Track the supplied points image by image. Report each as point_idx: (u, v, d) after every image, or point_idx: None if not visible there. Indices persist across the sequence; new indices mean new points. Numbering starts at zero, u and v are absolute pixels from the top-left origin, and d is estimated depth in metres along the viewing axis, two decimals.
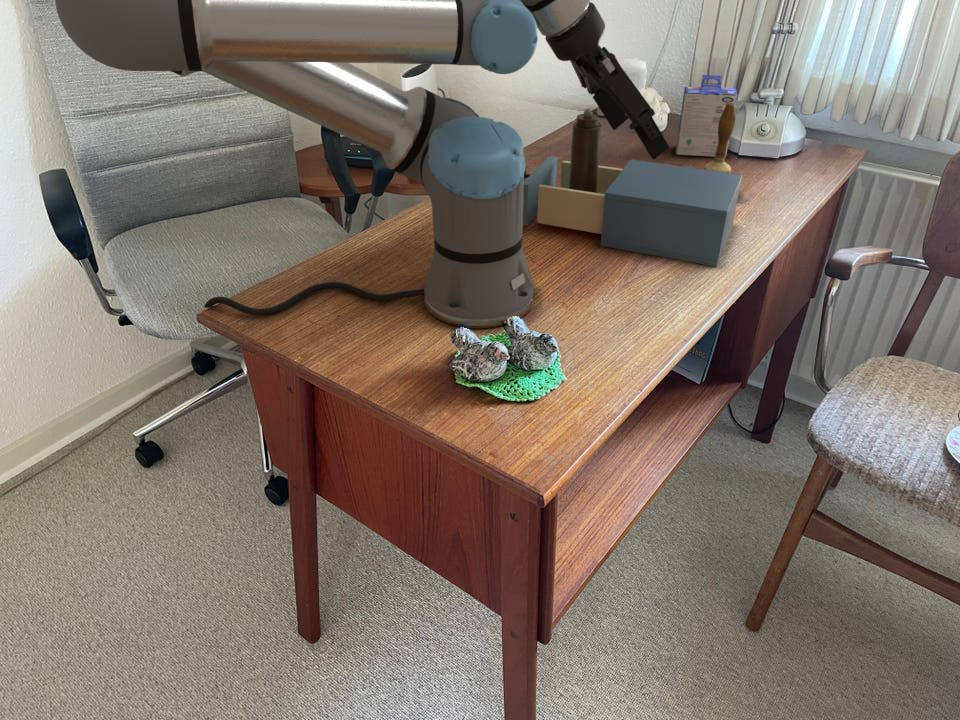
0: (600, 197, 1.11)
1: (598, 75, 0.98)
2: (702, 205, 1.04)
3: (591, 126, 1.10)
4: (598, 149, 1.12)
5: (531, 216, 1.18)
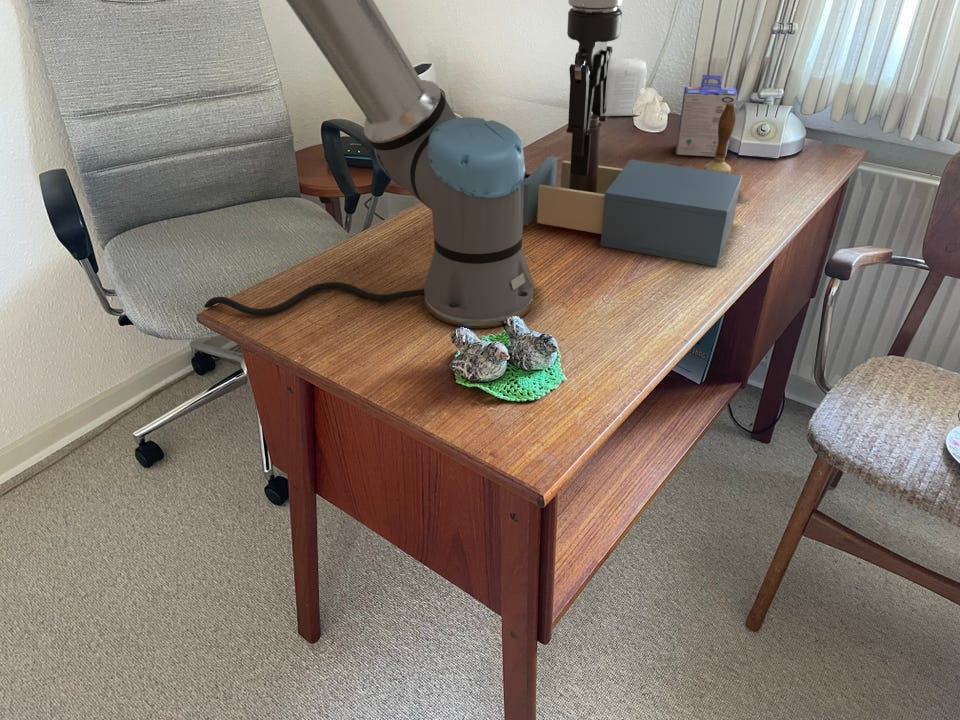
0: (600, 197, 1.11)
1: None
2: (702, 205, 1.04)
3: (591, 126, 1.10)
4: (598, 149, 1.12)
5: (531, 216, 1.18)
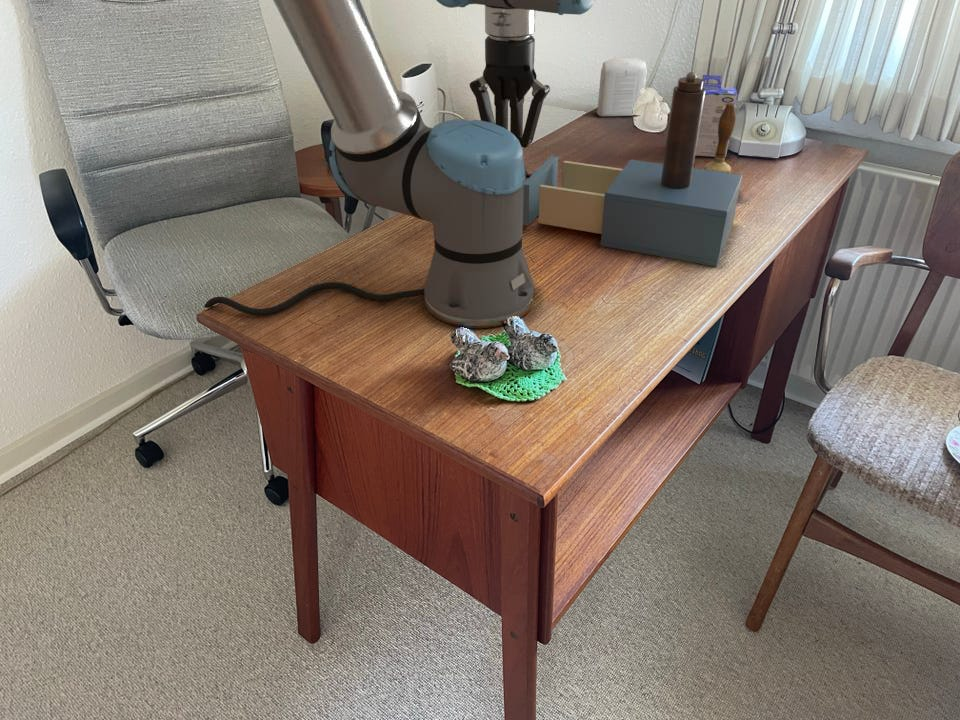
0: (601, 198, 1.10)
1: None
2: (702, 205, 1.04)
3: (695, 90, 1.01)
4: (700, 116, 1.04)
5: (532, 216, 1.18)
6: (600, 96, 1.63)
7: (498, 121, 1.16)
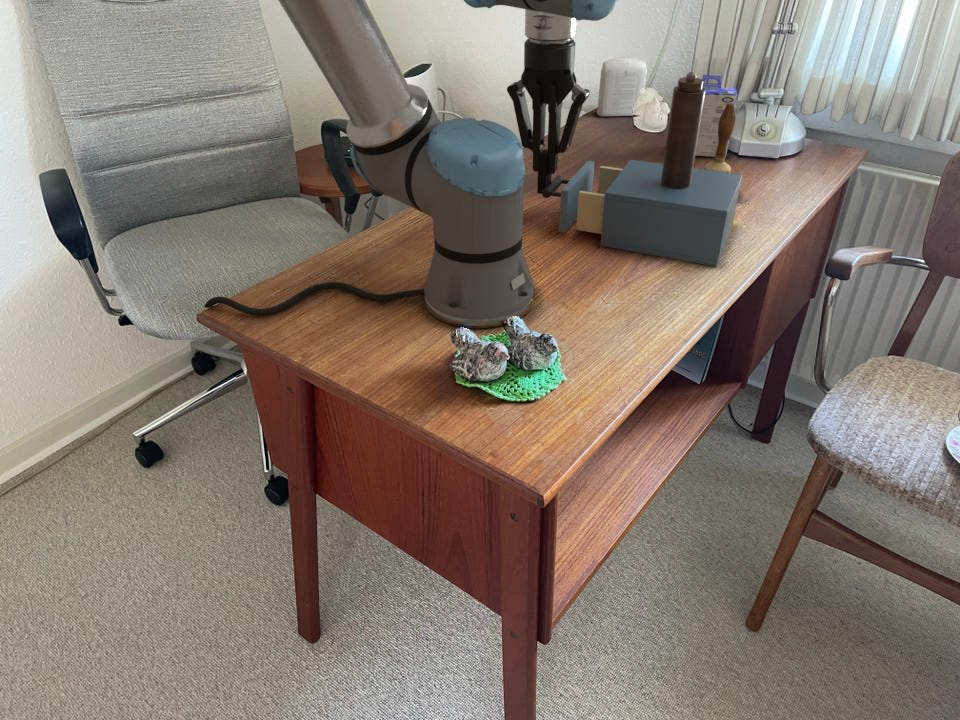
0: None
1: None
2: (702, 205, 1.04)
3: (695, 90, 1.01)
4: (700, 116, 1.04)
5: (569, 222, 1.16)
6: (600, 96, 1.63)
7: (535, 126, 1.14)
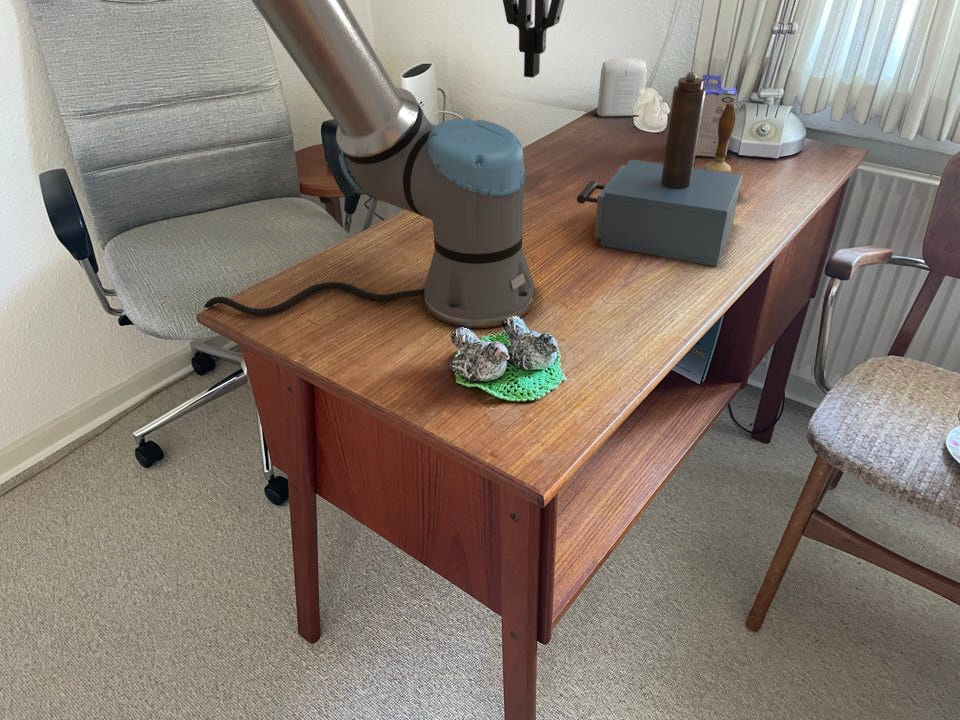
0: None
1: None
2: (702, 205, 1.04)
3: (695, 90, 1.01)
4: (700, 116, 1.04)
5: None
6: (600, 96, 1.63)
7: None
